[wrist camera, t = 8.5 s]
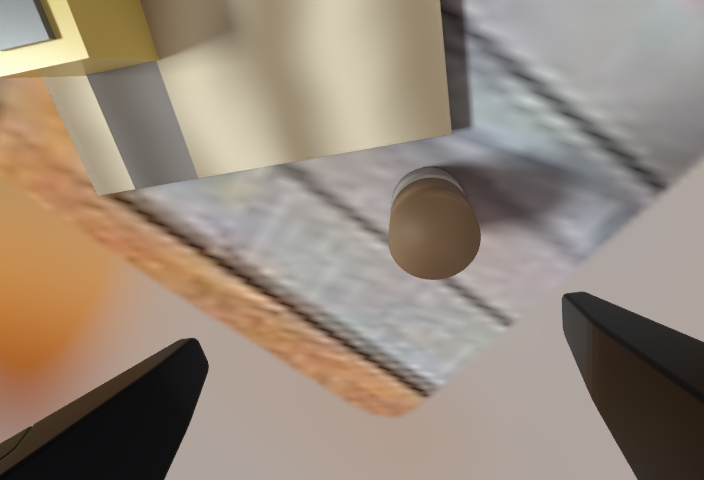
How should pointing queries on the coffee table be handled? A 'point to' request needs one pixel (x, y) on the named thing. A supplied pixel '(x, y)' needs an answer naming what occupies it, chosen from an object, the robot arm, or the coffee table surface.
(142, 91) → the plywood panel
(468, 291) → the coffee table surface
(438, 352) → the coffee table surface
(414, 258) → the peg
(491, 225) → the coffee table surface
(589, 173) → the coffee table surface
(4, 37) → the block
